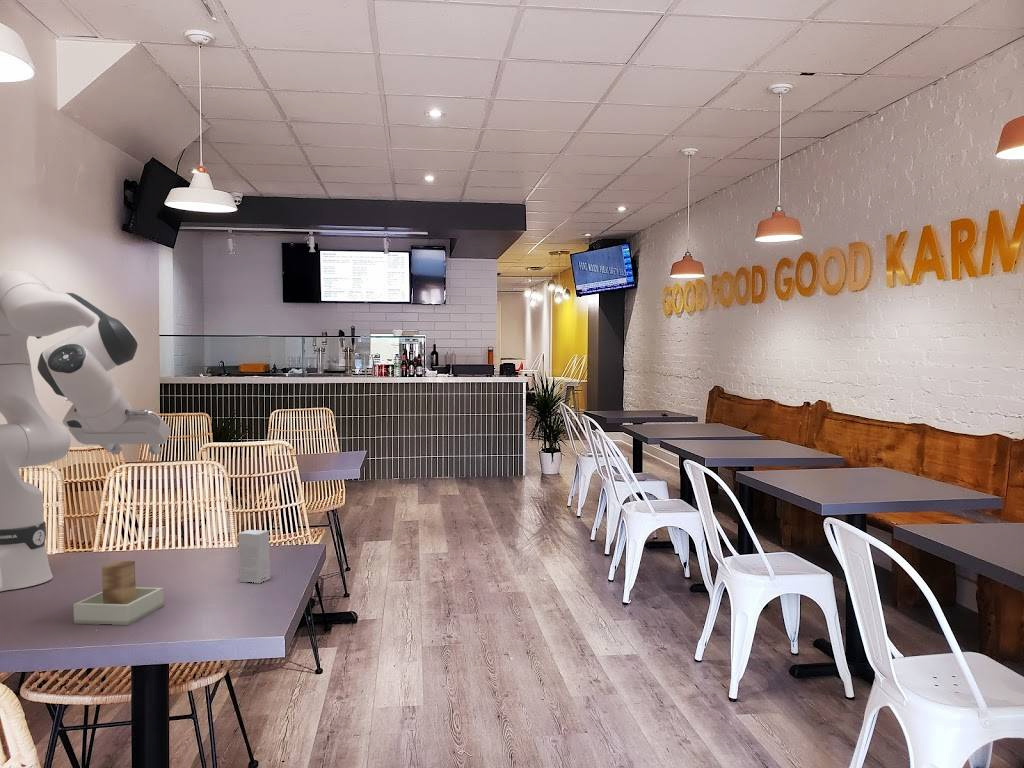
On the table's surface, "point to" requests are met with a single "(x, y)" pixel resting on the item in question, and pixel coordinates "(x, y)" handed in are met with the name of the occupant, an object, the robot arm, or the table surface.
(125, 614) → the bin
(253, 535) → the skincare box
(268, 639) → the table surface
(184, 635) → the table surface
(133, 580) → the oak block
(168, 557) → the table surface
